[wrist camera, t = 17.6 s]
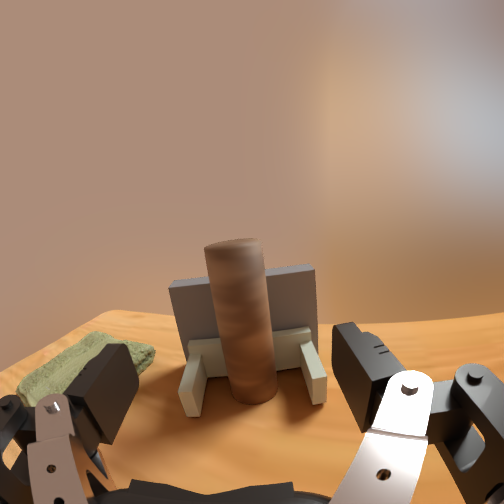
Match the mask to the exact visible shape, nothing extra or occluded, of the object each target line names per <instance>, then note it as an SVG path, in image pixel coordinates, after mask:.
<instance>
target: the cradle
mask: <svg viewBox="0 0 504 504" xmlns="http://www.w3.org/2000/svg"><path fill="white" fill-rule="evenodd" d="M272 337H273V346H274V355H275V364H276V371H277V370H284V369H290V368H297V367H301V369H302V373H303V376H304V379H305V382H306V385H307V388H308V392H309V395H310V398H311V401H312V404H313V405H315V404H320V403H325V402H326V400H327V375H326V372H325V370H324V368H323V366H322V363H321V361H320V359H319V356H318V354H317V352H316V350H315V347H314V345H313V343H312V341H311V331H310V328H309V326H307V327H301V328H295V329H288V330H281V331H274V332H272ZM187 347H188V350H189V354H190V355H189V358H188V361H187V364H186V367H185V370H184V373H183V377H182V380H181V383H180V386H179V389H178V395H179V398H180V400H181V403H182V406H183V408H184V411H185V413H186V416H187V417H200V414H201V409H202V403H203V398H204V393H205V387H206V382H207V377H220V376H228V373H227V369H226V364H225V359H224V355H223V350H222V345H221V340H220V338H212V339H199V340H189V343H188V346H187Z"/></svg>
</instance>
